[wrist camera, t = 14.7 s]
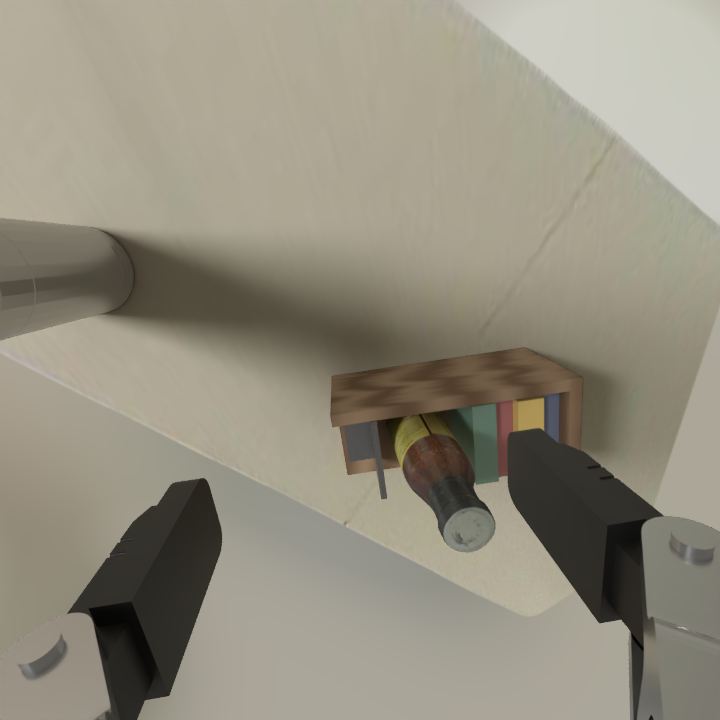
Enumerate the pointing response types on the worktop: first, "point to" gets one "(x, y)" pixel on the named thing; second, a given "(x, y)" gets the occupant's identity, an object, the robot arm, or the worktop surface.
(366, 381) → the shelf
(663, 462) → the worktop surface
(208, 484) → the robot arm
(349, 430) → the bookend
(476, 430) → the book row
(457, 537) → the sauce bottle
